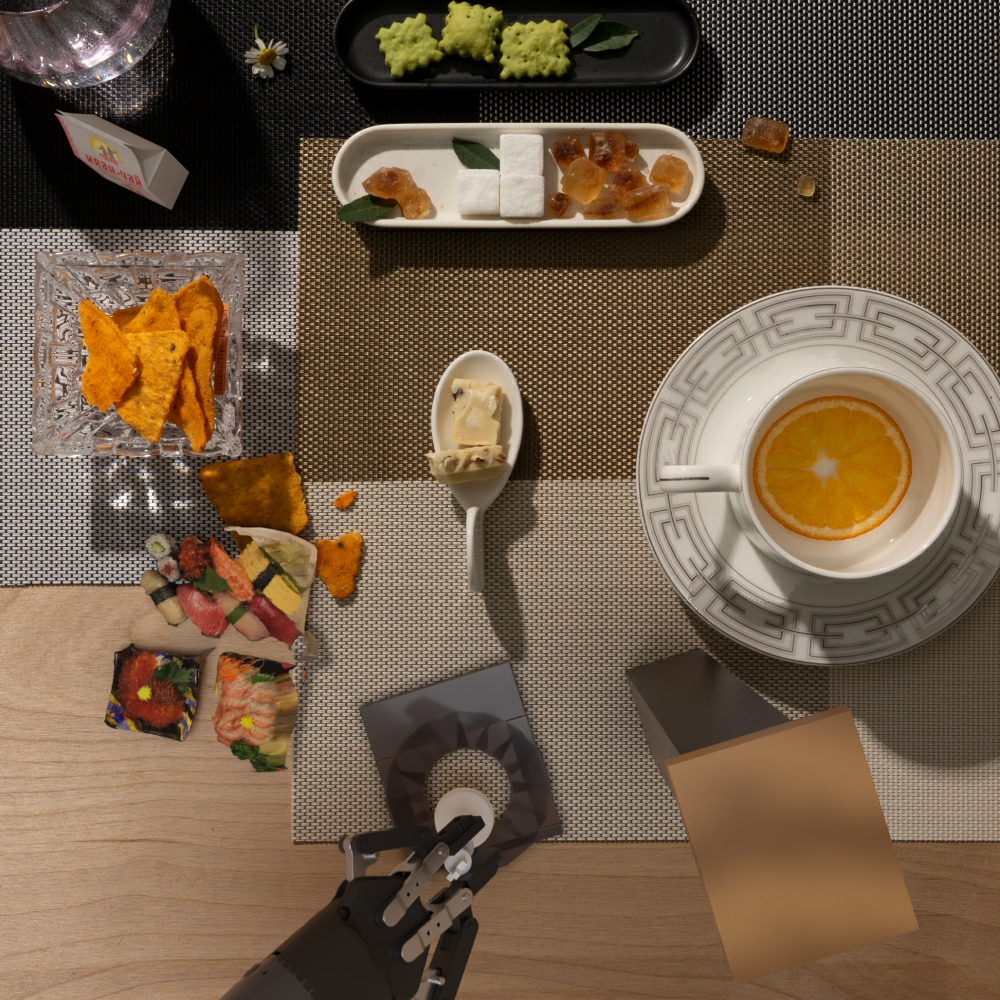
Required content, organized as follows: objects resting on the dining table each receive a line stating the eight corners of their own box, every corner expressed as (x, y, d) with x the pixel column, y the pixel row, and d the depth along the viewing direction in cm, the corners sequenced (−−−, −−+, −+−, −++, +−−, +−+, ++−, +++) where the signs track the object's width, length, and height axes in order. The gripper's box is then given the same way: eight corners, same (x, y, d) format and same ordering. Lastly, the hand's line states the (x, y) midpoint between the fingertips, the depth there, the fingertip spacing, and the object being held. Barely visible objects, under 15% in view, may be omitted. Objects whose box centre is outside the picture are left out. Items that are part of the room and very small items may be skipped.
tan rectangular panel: (910, 919, 41) (920, 929, 40) (730, 973, 42) (735, 985, 41) (843, 704, 41) (851, 709, 40) (663, 759, 42) (667, 766, 41)
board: (568, 836, 71) (570, 846, 69) (417, 882, 71) (414, 894, 69) (511, 655, 71) (511, 660, 69) (360, 702, 71) (356, 708, 69)
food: (153, 501, 71) (134, 501, 67) (353, 543, 71) (345, 545, 67) (104, 737, 71) (83, 749, 68) (304, 779, 71) (293, 794, 67)
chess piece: (422, 818, 64) (405, 877, 54) (462, 774, 64) (454, 825, 54) (466, 859, 64) (457, 925, 54) (506, 815, 64) (506, 873, 54)
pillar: (722, 728, 70) (872, 891, 41) (648, 751, 71) (746, 930, 42) (696, 644, 70) (827, 748, 41) (622, 667, 71) (701, 787, 42)
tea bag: (128, 146, 71) (65, 89, 61) (194, 178, 71) (143, 125, 61) (111, 183, 71) (45, 131, 61) (177, 214, 71) (122, 168, 61)
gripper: (380, 1139, 43) (561, 920, 56) (266, 918, 43) (472, 748, 56) (319, 1108, 49) (496, 915, 61) (218, 911, 49) (415, 757, 61)
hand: (484, 836), depth 58 cm, fingers closed on chess piece
